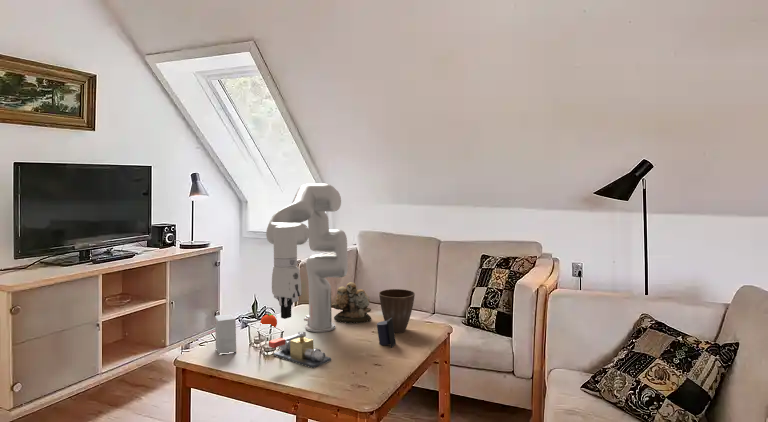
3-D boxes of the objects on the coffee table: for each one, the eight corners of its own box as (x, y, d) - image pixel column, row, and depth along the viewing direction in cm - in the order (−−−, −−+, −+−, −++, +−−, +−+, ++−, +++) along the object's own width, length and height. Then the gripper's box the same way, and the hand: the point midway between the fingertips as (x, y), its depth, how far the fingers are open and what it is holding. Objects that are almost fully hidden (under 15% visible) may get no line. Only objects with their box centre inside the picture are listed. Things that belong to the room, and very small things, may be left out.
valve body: (273, 355, 192) (273, 334, 192) (292, 349, 199) (291, 328, 199) (313, 368, 180) (312, 345, 179) (331, 360, 187) (330, 338, 187)
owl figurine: (330, 323, 233) (329, 285, 232) (333, 316, 245) (333, 279, 244) (370, 323, 232) (370, 285, 231) (372, 316, 244) (372, 279, 243)
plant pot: (414, 325, 229) (414, 289, 228) (415, 336, 214) (415, 297, 213) (379, 325, 230) (379, 288, 229) (378, 335, 215) (378, 297, 214)
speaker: (400, 343, 204) (397, 317, 204) (391, 348, 200) (388, 321, 200) (385, 341, 209) (382, 315, 209) (376, 346, 205) (373, 319, 204)
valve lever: (268, 346, 179) (268, 341, 179) (301, 335, 191) (301, 330, 191) (274, 348, 177) (274, 342, 177) (307, 336, 189) (307, 331, 189)
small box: (236, 353, 195) (235, 318, 194) (218, 356, 192) (217, 321, 191) (232, 346, 202) (231, 313, 201) (215, 349, 199) (214, 315, 198)
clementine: (271, 326, 228) (270, 310, 227) (282, 329, 224) (282, 313, 224) (256, 331, 222) (256, 314, 221) (268, 334, 218) (268, 317, 217)
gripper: (309, 263, 172) (310, 318, 174) (278, 259, 181) (279, 311, 183) (292, 266, 166) (293, 323, 168) (261, 262, 175) (262, 316, 177)
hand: (286, 317), depth 175 cm, fingers closed
